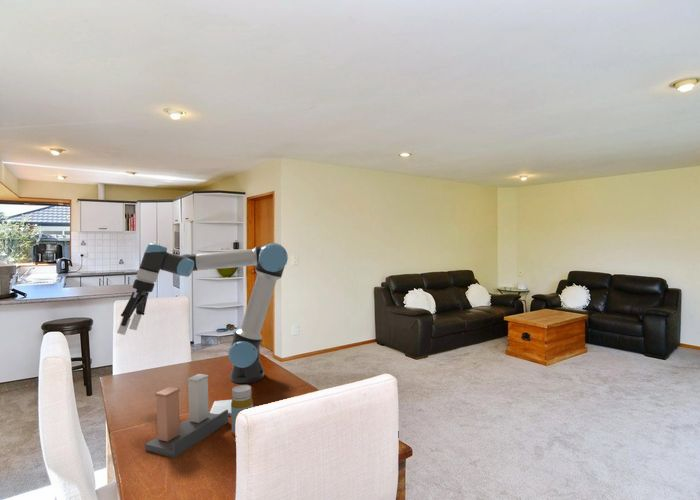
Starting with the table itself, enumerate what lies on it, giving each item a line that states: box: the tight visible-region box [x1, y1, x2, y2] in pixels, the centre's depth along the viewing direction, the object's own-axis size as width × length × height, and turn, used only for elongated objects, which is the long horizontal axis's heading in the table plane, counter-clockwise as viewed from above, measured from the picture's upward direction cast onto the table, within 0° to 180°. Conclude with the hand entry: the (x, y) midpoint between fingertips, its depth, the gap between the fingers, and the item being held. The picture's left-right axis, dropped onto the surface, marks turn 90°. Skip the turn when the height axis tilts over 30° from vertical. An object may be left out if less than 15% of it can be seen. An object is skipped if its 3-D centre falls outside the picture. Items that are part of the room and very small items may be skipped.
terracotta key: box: [155, 386, 181, 442], centre depth 124 cm, size 5×4×15 cm
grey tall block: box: [186, 373, 210, 423], centre depth 136 cm, size 5×4×15 cm
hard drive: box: [209, 399, 232, 417], centre depth 149 cm, size 2×8×12 cm
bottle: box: [230, 384, 254, 437], centre depth 131 cm, size 7×7×15 cm
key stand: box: [144, 410, 229, 459], centre depth 130 cm, size 24×12×4 cm, turn 158°
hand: (127, 331), depth 157 cm, fingers open, 13 cm apart
